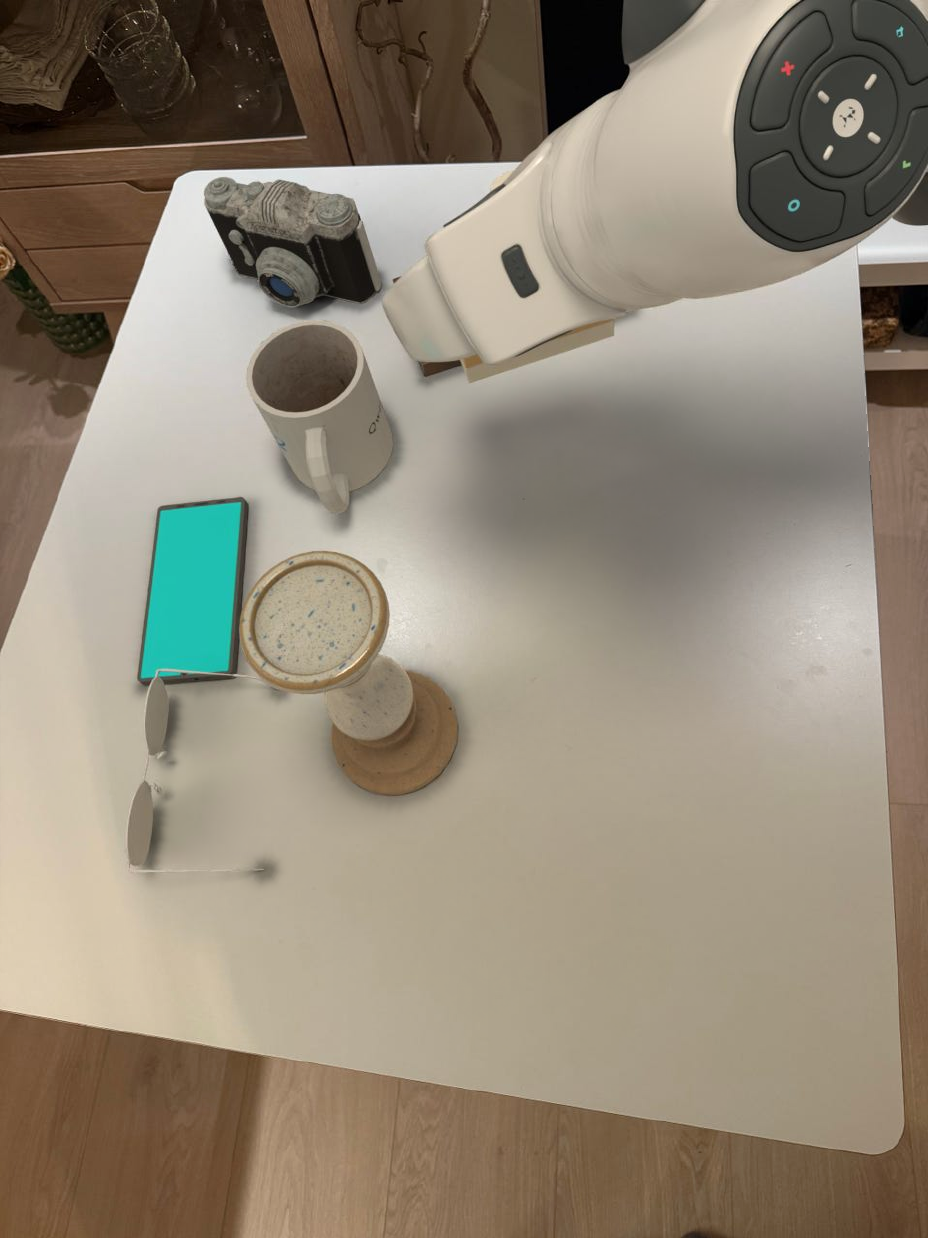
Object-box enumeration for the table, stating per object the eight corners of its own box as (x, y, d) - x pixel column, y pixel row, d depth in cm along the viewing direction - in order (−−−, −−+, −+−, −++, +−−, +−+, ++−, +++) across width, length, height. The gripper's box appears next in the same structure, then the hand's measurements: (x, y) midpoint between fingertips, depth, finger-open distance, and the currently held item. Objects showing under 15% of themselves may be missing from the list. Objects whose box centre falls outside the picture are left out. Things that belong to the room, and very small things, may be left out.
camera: (213, 298, 82) (164, 209, 72) (247, 244, 84) (204, 150, 75) (356, 334, 78) (324, 243, 68) (388, 275, 80) (361, 180, 71)
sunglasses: (170, 686, 66) (151, 662, 62) (284, 687, 67) (273, 663, 62) (143, 880, 61) (119, 869, 56) (267, 881, 61) (253, 870, 56)
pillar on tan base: (588, 282, 61) (586, 130, 50) (614, 336, 59) (617, 189, 48) (448, 328, 61) (417, 186, 50) (469, 383, 59) (441, 247, 48)
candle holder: (473, 689, 63) (421, 555, 45) (437, 811, 60) (364, 720, 42) (358, 662, 65) (262, 523, 47) (317, 778, 62) (197, 677, 44)
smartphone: (244, 496, 71) (231, 674, 65) (248, 501, 72) (235, 678, 66) (156, 506, 72) (135, 682, 66) (161, 511, 73) (140, 686, 67)
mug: (298, 404, 75) (257, 321, 66) (398, 403, 74) (370, 318, 65) (274, 534, 70) (226, 463, 61) (380, 535, 69) (348, 462, 60)
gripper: (772, 36, 41) (635, 118, 54) (398, 254, 39) (347, 286, 52) (817, 171, 44) (676, 219, 57) (466, 384, 41) (401, 384, 54)
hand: (516, 253), depth 54 cm, fingers closed on pillar on tan base, 3 cm apart
